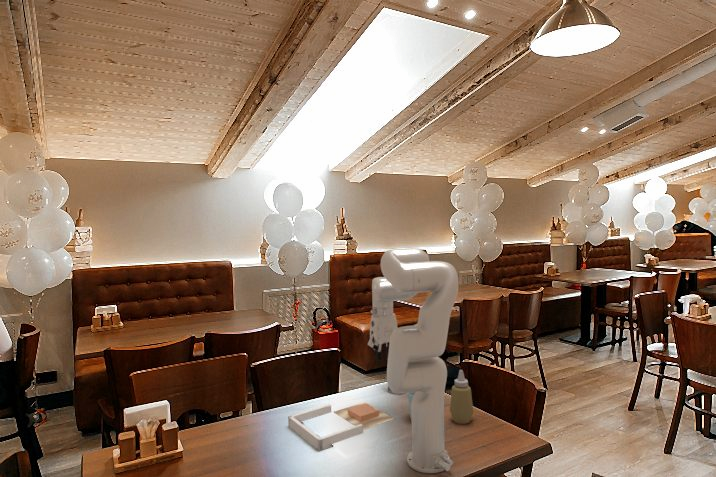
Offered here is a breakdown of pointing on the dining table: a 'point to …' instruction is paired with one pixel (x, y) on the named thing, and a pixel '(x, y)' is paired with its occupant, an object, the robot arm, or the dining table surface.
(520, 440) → the dining table surface
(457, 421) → the squeeze bottle
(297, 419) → the box
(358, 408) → the tile
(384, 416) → the beige square board
